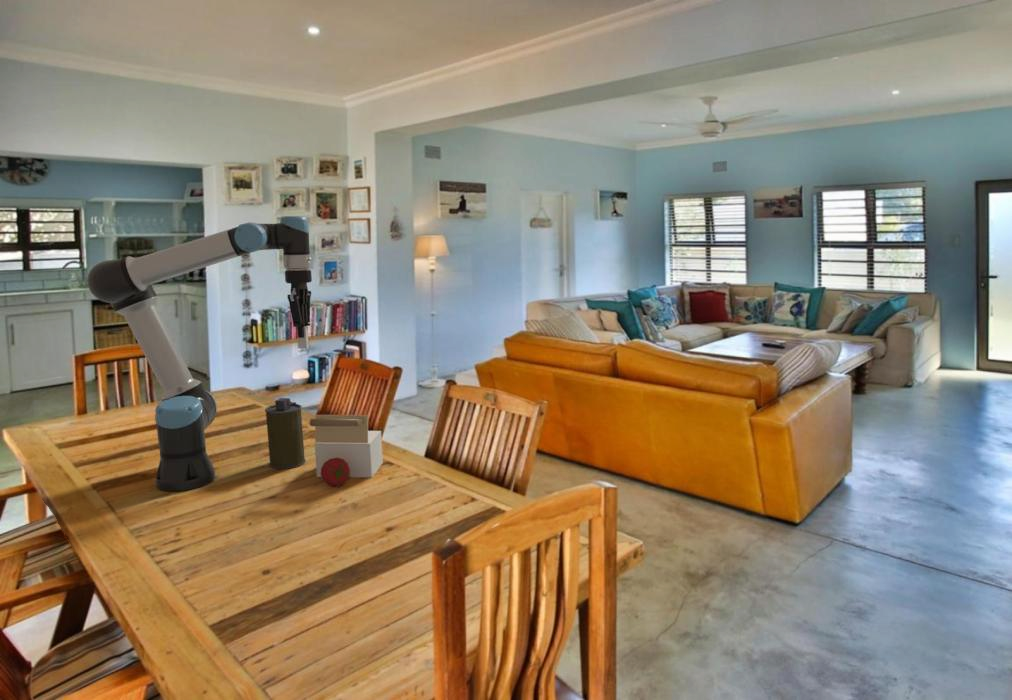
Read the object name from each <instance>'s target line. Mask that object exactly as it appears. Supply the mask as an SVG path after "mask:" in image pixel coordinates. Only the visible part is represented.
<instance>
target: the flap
mask: <svg viewBox="0 0 1012 700" xmlns="http://www.w3.org/2000/svg"><path fill="white" fill-rule="evenodd" d="M314 416H315V417H314V418H310V419H309V426H310V427H314V429H315V431H314V432H315V434H314V435H315V436H314V437H315V441H314V444H315V443H368V431H369V414H315V415H314Z"/></svg>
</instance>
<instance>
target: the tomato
mask: <svg viewBox="0 0 1012 700" xmlns="http://www.w3.org/2000/svg"><path fill="white" fill-rule="evenodd" d="M349 475H350V469H349V466H348V463H347V462H346V461H345V460H343V459H341V458H332V459H329V460H328V461H326V462H325V463H324V464H323V466H322V468H321V479H322V481H323V482H324V484H326V485H327V486H328V487H333V488H336V487H340V486H342V485H343V484H345V483H346V482H347V481H348V479H349V478H350V477H349Z"/></svg>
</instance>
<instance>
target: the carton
mask: <svg viewBox="0 0 1012 700" xmlns="http://www.w3.org/2000/svg"><path fill="white" fill-rule="evenodd" d="M382 440H383V437H382V430H368V443H315V442H314V450H315V451H314V452H315V453H314V455H315V468H316V477H321V468H322V466H323V464H324V463H325V462H326V461H328V460H329V459H332V458H341V459H343V460H345V461H346V462H347V463H348V466H349V469H350V475H349V478H373V477H374V475H375V474H376V472H377V471H378V470H379V468H380V467H381V466H382V464H384V462H383V441H382ZM321 478H322V477H321Z"/></svg>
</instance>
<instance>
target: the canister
mask: <svg viewBox="0 0 1012 700" xmlns="http://www.w3.org/2000/svg"><path fill="white" fill-rule="evenodd" d="M302 407H303V406H302V405H301V404H298V403H297V402H293V401H291V398H288V397H287V398H286V397H279V398H278V399H276V400H275V401H274V404H273V405H269V406H268V407H266V408H265V409H264V412H265V416H266V429H267V430H266V432H267V440H268V453H269V467H270V468H272V469H276V470H288V469H293V468H297V467H299V466H302V465H305V463H306V457H305V446H304V445H305V444H304V434H303V433H304V431H303V419H302V418H303V417H302V416H303V415H302Z"/></svg>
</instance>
